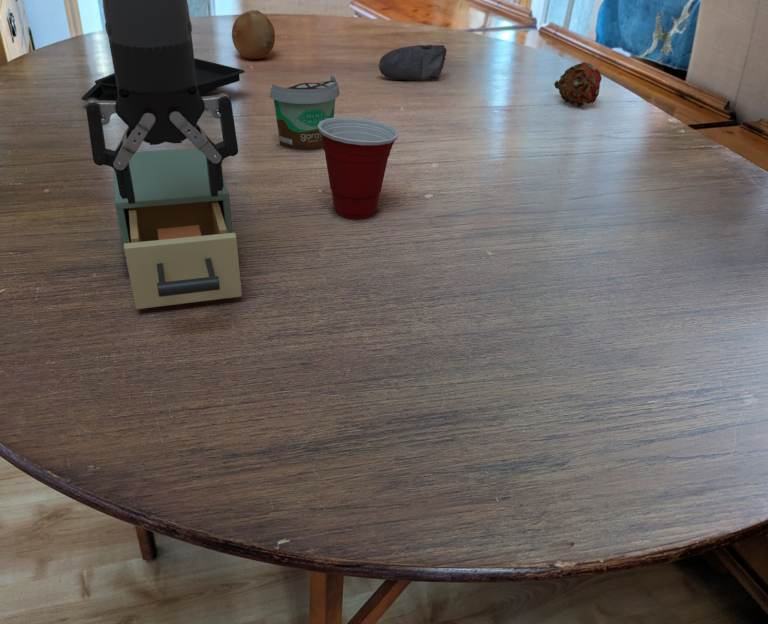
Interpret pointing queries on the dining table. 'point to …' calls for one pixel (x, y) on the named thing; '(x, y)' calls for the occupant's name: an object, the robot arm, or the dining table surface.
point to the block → (179, 232)
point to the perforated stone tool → (413, 62)
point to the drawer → (181, 256)
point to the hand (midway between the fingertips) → (173, 197)
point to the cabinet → (168, 184)
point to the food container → (303, 112)
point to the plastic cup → (356, 162)
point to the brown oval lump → (253, 35)
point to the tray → (206, 77)
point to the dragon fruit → (579, 84)
